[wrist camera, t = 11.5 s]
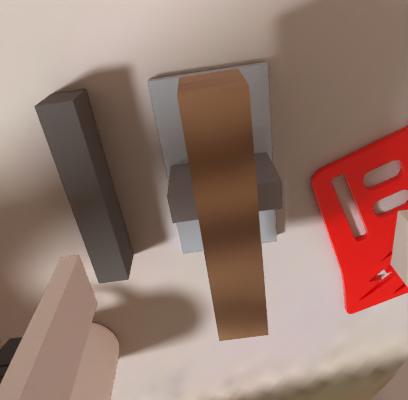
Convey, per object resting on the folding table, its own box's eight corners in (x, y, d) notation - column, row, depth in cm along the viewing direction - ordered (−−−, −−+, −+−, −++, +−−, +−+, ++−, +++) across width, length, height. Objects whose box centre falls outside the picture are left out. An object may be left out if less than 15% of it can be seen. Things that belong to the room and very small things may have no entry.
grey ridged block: (183, 248, 40) (182, 293, 34) (148, 79, 32) (139, 99, 26) (274, 235, 40) (290, 279, 34) (265, 61, 31) (284, 78, 25)
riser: (106, 258, 41) (98, 283, 37) (51, 93, 32) (34, 106, 28) (133, 254, 41) (128, 279, 37) (85, 88, 32) (72, 100, 28)
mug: (80, 290, 43) (50, 373, 33) (133, 352, 48) (120, 438, 39) (19, 314, 44) (-26, 400, 35) (77, 372, 50) (51, 460, 40)
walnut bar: (258, 291, 34) (268, 334, 30) (215, 297, 35) (219, 341, 30) (238, 68, 25) (248, 85, 20) (178, 77, 25) (177, 95, 21)
